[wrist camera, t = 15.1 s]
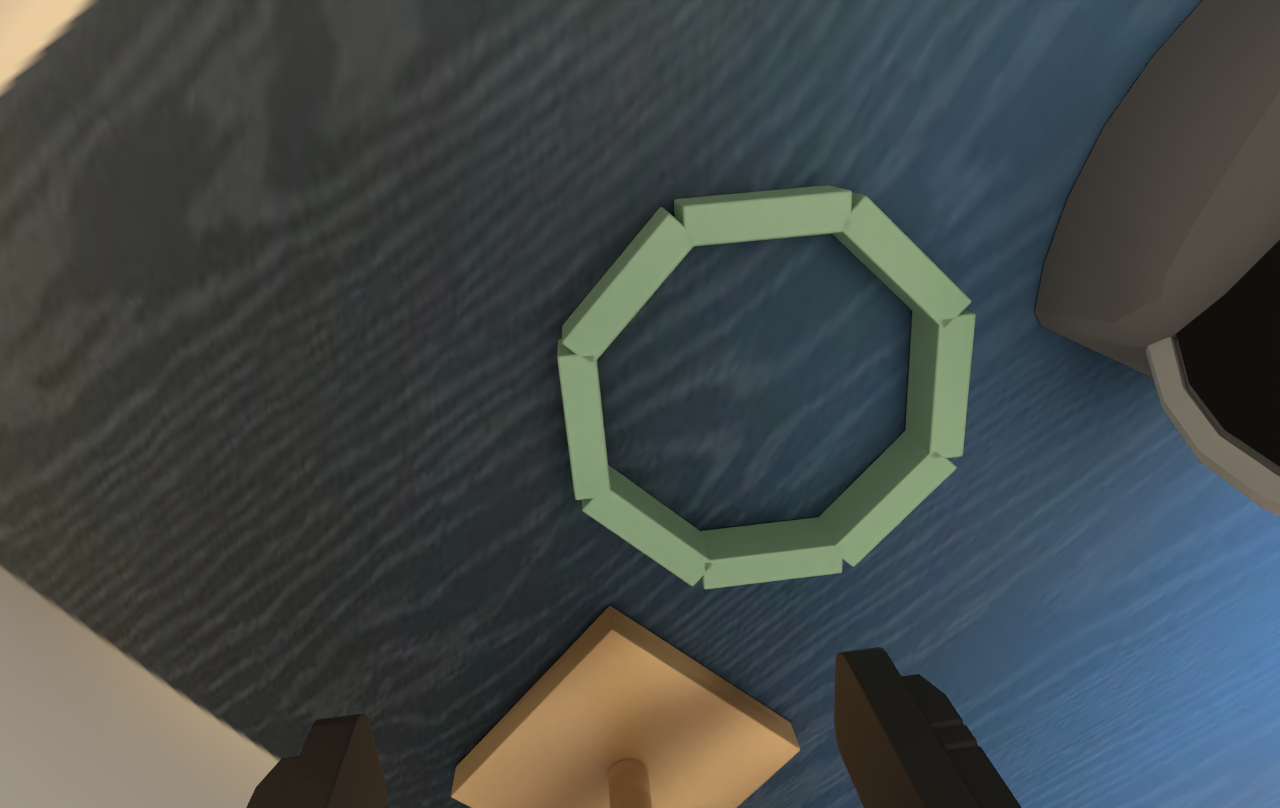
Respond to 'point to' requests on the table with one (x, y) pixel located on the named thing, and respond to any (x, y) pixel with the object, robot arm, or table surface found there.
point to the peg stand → (626, 732)
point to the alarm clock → (1188, 240)
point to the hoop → (877, 491)
